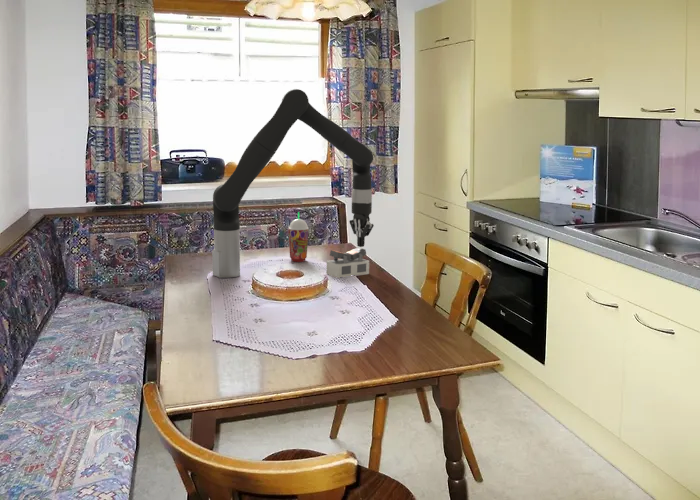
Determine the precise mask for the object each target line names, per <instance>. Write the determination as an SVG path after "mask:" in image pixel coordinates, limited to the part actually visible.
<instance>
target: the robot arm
mask: <svg viewBox="0 0 700 500" xmlns="http://www.w3.org/2000/svg"><path fill="white" fill-rule="evenodd" d="M298 120H299V121H300V122H303V123H304V124H305V125H307V126H308V127H310V128H311V129H312V130H314V131H315V132H316V133H317V134H319V135H320V136H321V137H322V138H323V139H325V140H326V141H327V142H328V144H331V145H332V146H333V147H334V148H336V149H337V150H338V151H339V152H342V153H343V154H344V155H346V157H348V158H350V160H351V163H352V165H351V166H352V167H351V168H352V192H351V214H353V216H352V219H351V220H350V219H349V224H350V227H351V230H352V232H353V234H354V235H356V243H357V247H358V248H362V247H365V237H368V236H369V235H370V233H371V232H372V230H373V228H374V227H375V226H374V223H371V221H370V219H371V218H370V214H372V207H373V206H372V205H373V193H372V183H373V182H372V181H373V179H372V175H371V164H372V163H373V161H374V154H373V152H372V151H371V149H370V148H368V147H367V146H365V145H364V144H363V143H361V142H360V141H358V140H357V139H355V138H354V136H352V135H351V134H350V133H349V132H348V131H346V130H345V129H344V128H343V127H341V126H340V125H339V124H337V123H336V122H334V121H333V120H331V119H330V118H328V117H326V116H324V115H323V114H322V113H320V111H318V110H317V109H316V108H315V107H314V106H313V105H311V103H310V102H309V97H308V95H307V93H306V92H305V91H303V90H302V89H300V88H299V89H297V88H294V89H290V90H288V91H287V92H286V93H285V94H284V95H283V96H282V99H281V102H280V104H279V106H278V108H277V110H276V111H275V113H274V114H273V116H271V118H270V119H269V120H268V122H266V123H265V125H264V126H262V128H261V129H260V130H259V131H258V132H257V133H256V134H255V136H254V137H253V138H252V139H251V141H250V143H249V144H248V145H247V147H246V148H245V150H244V152H243V153H242V155H241V157H240V159H239V161H238V163H237V166H236V168H235V169H234V170H233V172H232V173H231V175H230V176H229V177H228V178H227V180H226V181H225V182H224V183H223V184H221V185H219V186H217V187H216V188H215V190H214V191H213V194H212V208H213V209H212V210H213V212H212V213H213V214H212V215H213V217H212V218H213V239H214V240H213V249H212V252H211V253H212V255H211V257H212V259H211V260H212V276H214V277H216V278H219V279H221V278H222V279H223V278H225V279H226V278H227V279H230V278H236V277H239V276H241V244H240V242H241V241H240V240H241V237H240V236H241V235H240V234H241V231H240V230H241V229H240V228H241V227H240V226H241V225H240V214H239V213H240V211H239V210H240V208H239V206H240V203H241V201H242V199H243V197H244V195H245V194H246V192H247V191H248V189H249V187H250V186H251V184H252V183H253V182H254V180H255V179H256V178H257V177H258V176H259V175H260V173H262V171H264V169H265V167H266V166H267V165H268V164H269V162H270V161H271V159H272V158H273V157H274V155H275V154H276V153H277V150H278V149H279V147H280V146H281V144H282V143H283V141H284V139H285V137H286V135H287V134H288V132H289V131H290V129H291V128H292V127H293V126H294V124H295V123H296V122H297V121H298Z"/></svg>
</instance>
